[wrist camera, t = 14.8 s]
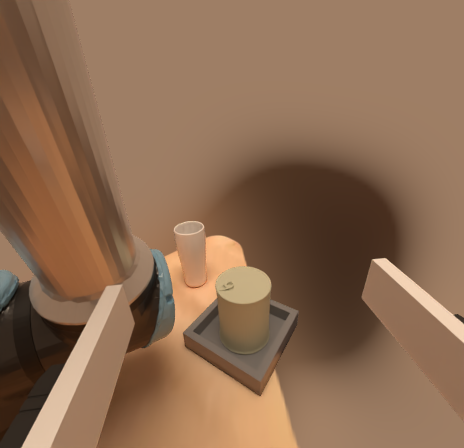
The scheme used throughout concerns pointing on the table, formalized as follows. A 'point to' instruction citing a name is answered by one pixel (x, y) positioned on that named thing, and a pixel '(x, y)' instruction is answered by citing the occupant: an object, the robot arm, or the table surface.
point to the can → (243, 309)
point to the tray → (237, 365)
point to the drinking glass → (192, 251)
